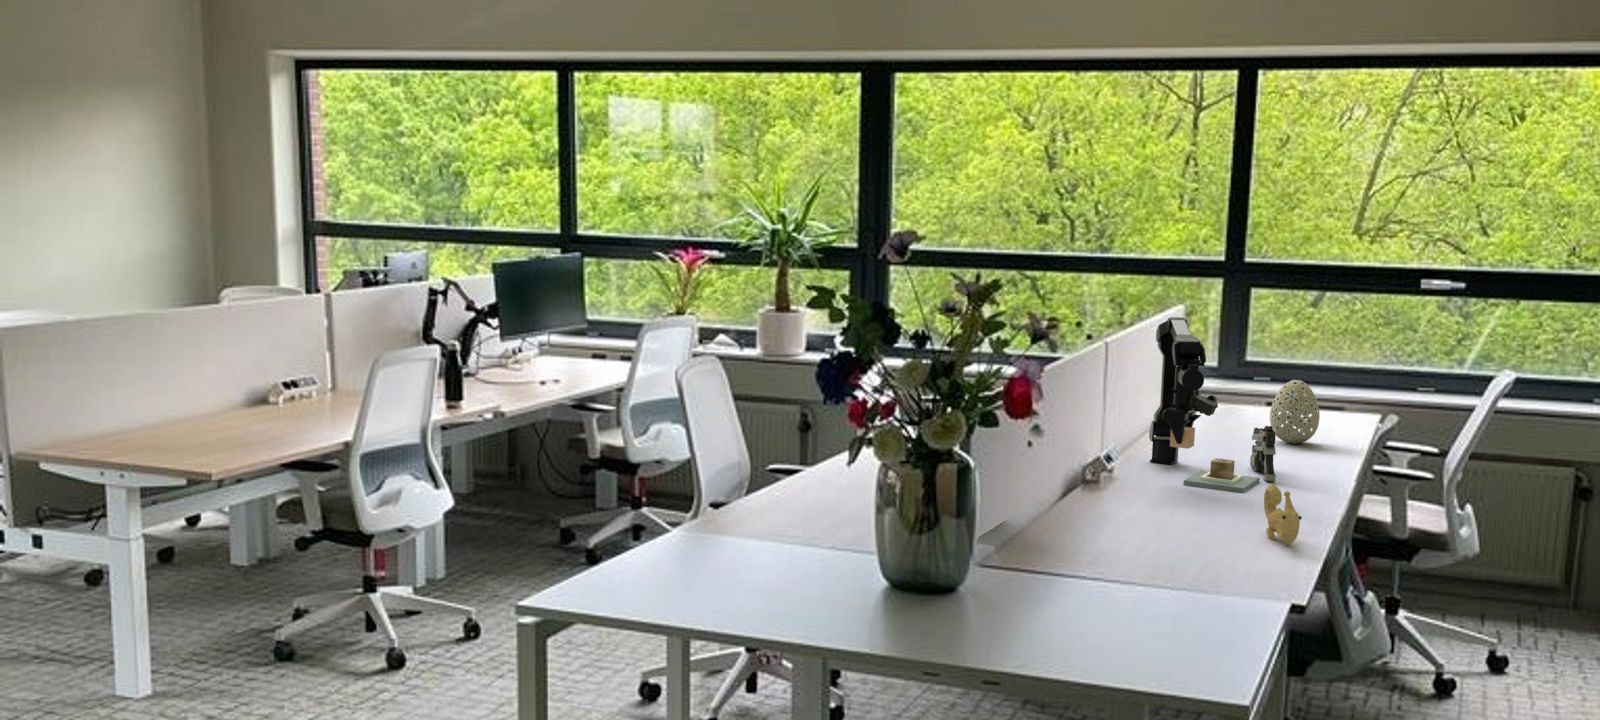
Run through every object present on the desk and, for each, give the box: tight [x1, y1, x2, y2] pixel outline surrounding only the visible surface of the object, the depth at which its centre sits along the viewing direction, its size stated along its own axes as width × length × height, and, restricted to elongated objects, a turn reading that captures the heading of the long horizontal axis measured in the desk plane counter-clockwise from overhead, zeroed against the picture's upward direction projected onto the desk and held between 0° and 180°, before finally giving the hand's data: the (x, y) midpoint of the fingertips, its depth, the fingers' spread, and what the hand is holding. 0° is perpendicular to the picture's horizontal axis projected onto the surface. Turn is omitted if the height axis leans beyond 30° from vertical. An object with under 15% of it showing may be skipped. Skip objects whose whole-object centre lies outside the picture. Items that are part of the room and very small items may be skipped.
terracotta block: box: [1170, 426, 1196, 450], centre depth 387 cm, size 5×5×5 cm
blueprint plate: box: [1183, 469, 1260, 493], centre depth 388 cm, size 16×16×2 cm
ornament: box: [1269, 379, 1321, 445], centre depth 447 cm, size 15×15×20 cm
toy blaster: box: [1249, 425, 1277, 482], centre depth 400 cm, size 4×21×15 cm, turn 174°
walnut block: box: [1209, 458, 1236, 480], centre depth 388 cm, size 5×5×5 cm
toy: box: [1263, 483, 1302, 546], centre depth 328 cm, size 5×12×20 cm
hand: (1182, 442), depth 387 cm, fingers closed on terracotta block, 5 cm apart
